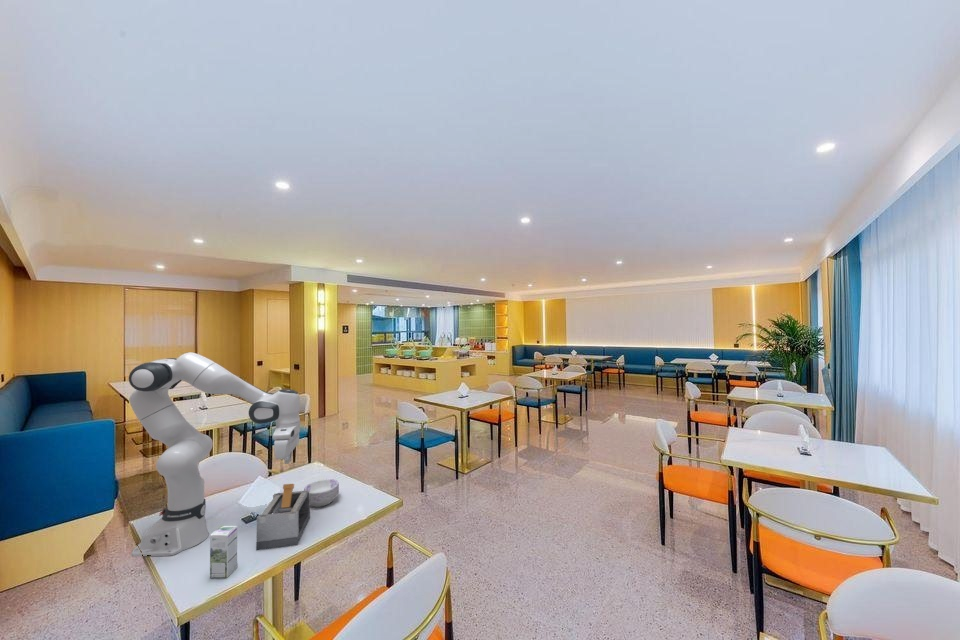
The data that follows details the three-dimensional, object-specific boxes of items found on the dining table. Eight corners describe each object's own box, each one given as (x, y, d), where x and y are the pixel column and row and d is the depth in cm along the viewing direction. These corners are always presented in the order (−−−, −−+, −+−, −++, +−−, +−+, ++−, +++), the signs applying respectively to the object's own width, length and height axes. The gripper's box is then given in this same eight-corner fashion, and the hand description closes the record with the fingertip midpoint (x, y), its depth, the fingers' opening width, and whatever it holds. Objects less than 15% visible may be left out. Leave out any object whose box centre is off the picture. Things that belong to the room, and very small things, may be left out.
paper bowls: (299, 501, 170) (299, 484, 170) (332, 491, 180) (332, 475, 180) (309, 514, 159) (309, 496, 159) (343, 502, 169) (343, 485, 169)
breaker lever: (290, 511, 143) (294, 483, 149) (278, 513, 142) (282, 484, 148) (291, 512, 145) (295, 484, 151) (279, 513, 144) (283, 485, 150)
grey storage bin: (297, 545, 136) (297, 513, 136) (256, 550, 133) (256, 517, 133) (309, 517, 156) (310, 490, 156) (274, 521, 152) (274, 493, 153)
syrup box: (238, 566, 124) (238, 524, 124) (226, 578, 118) (227, 534, 118) (221, 567, 124) (221, 524, 124) (208, 579, 118) (209, 534, 118)
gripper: (287, 422, 157) (287, 454, 157) (271, 436, 137) (270, 473, 137) (303, 421, 159) (303, 453, 158) (288, 435, 139) (288, 471, 138)
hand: (287, 462), depth 148 cm, fingers closed
